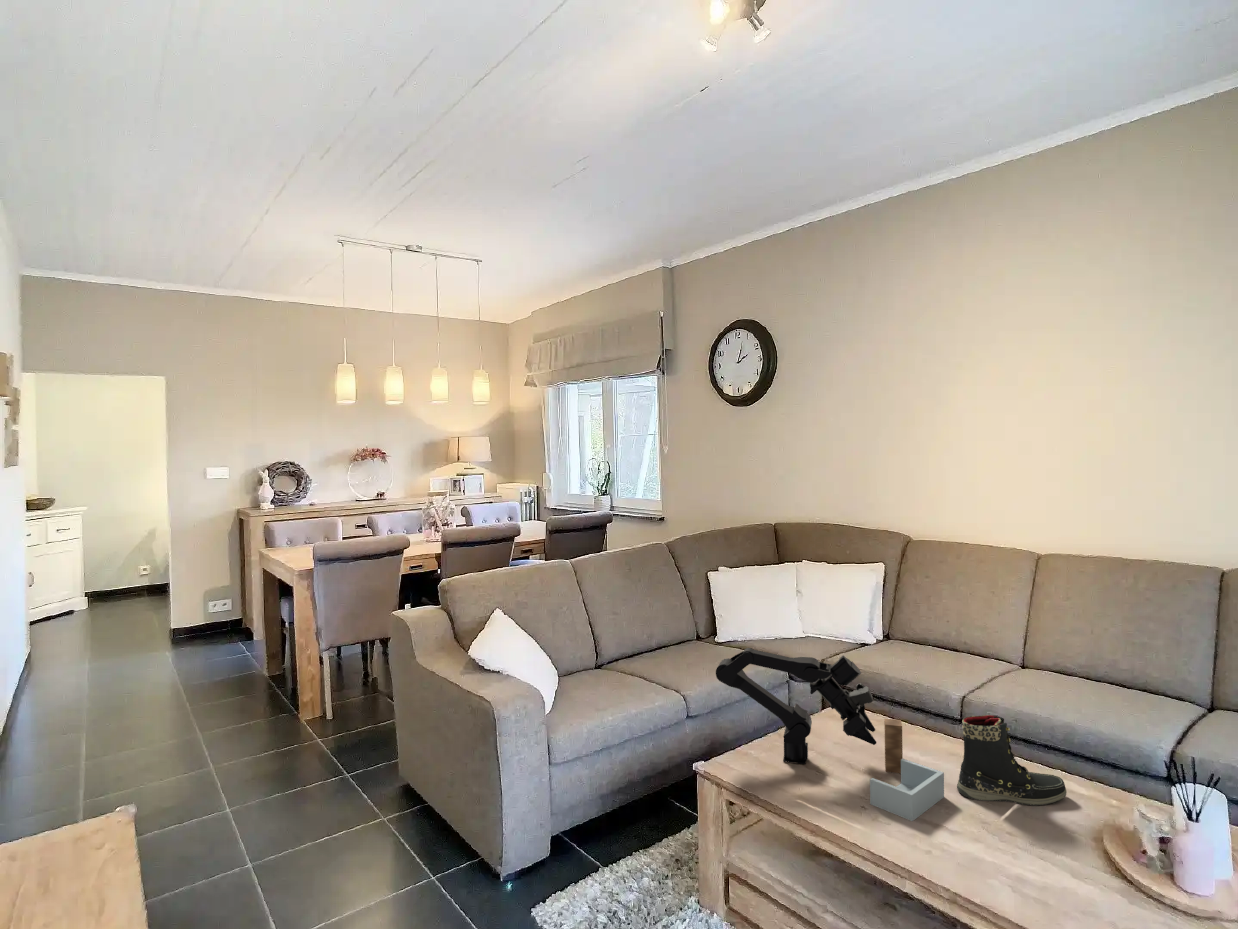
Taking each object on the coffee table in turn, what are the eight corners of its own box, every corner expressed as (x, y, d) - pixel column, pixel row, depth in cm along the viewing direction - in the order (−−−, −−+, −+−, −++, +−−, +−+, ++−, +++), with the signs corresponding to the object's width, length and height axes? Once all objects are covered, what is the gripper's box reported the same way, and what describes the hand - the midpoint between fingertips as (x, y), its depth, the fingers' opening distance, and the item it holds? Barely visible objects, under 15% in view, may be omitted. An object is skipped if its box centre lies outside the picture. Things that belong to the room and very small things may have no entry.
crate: (870, 806, 179) (869, 779, 179) (903, 783, 190) (902, 758, 190) (912, 823, 170) (911, 795, 170) (944, 798, 182) (943, 772, 182)
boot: (1075, 803, 178) (1074, 724, 178) (983, 814, 174) (983, 734, 173) (1037, 780, 191) (1037, 707, 190) (951, 790, 186) (950, 715, 186)
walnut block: (885, 773, 196) (885, 724, 196) (885, 766, 201) (884, 718, 200) (902, 775, 195) (902, 726, 195) (901, 768, 199) (901, 720, 199)
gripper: (855, 688, 192) (898, 733, 188) (855, 668, 209) (894, 708, 206) (826, 713, 194) (867, 757, 191) (828, 691, 212) (866, 731, 209)
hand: (874, 737), depth 199 cm, fingers open, 9 cm apart
